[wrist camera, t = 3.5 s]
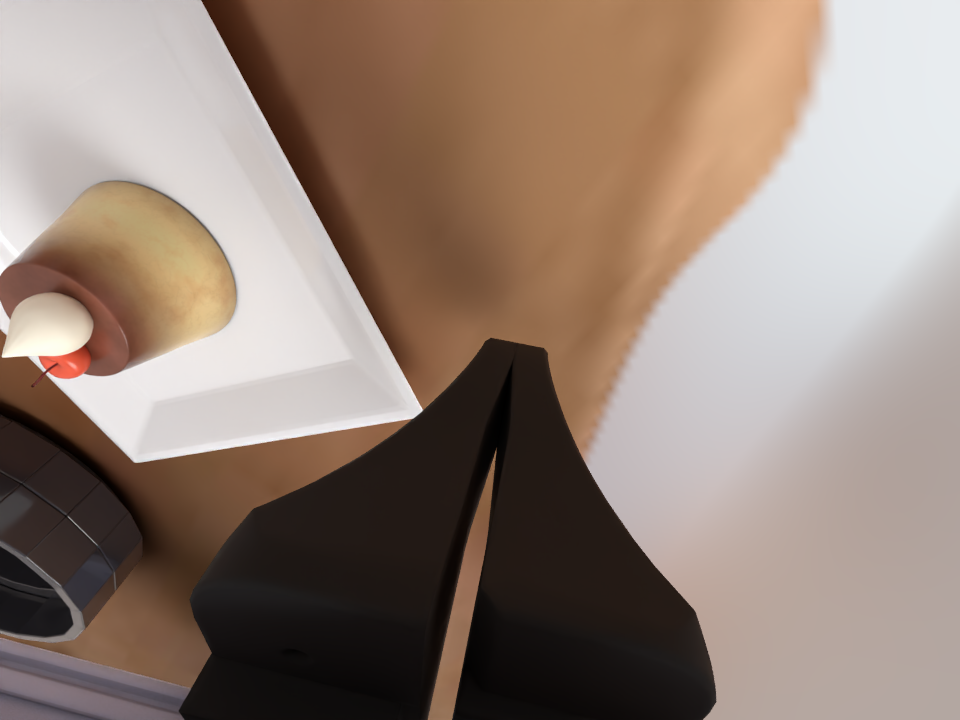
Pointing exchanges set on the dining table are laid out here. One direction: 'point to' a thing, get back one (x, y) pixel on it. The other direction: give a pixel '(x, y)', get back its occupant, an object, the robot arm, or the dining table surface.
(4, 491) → the pan
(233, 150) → the dessert
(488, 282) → the dining table surface
